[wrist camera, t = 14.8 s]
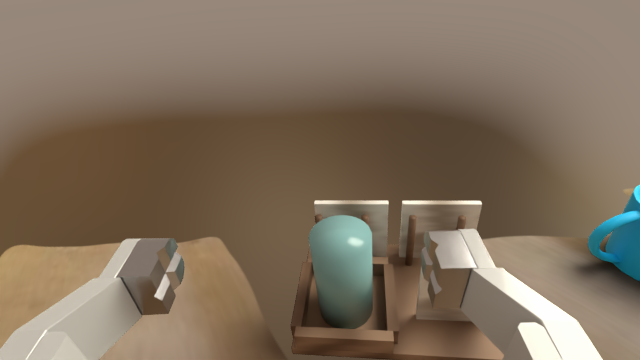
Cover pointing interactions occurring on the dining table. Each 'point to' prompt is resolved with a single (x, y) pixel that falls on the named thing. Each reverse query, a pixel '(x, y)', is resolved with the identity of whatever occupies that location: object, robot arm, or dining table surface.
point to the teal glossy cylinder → (343, 270)
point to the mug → (621, 238)
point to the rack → (394, 292)
